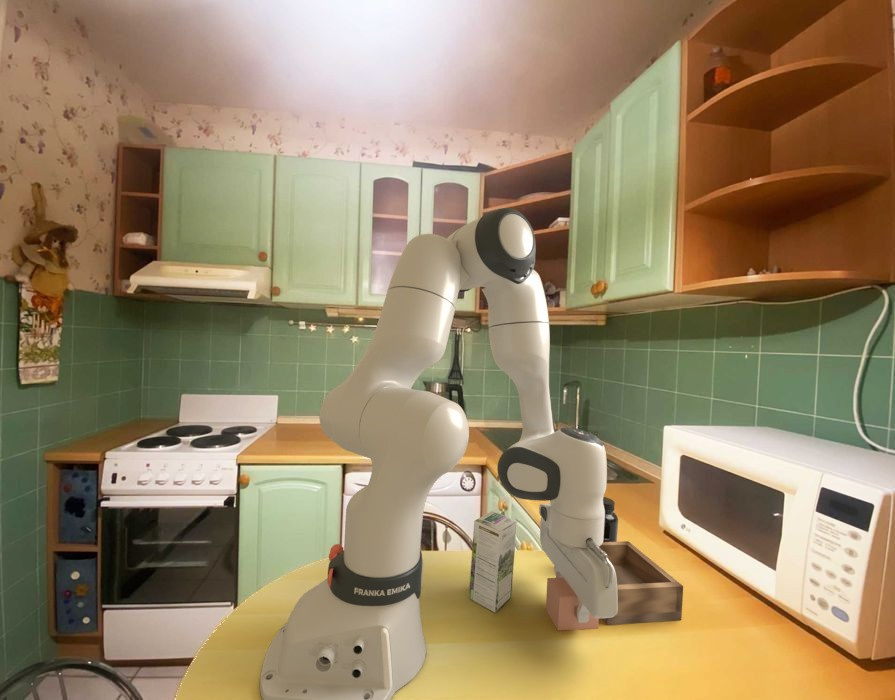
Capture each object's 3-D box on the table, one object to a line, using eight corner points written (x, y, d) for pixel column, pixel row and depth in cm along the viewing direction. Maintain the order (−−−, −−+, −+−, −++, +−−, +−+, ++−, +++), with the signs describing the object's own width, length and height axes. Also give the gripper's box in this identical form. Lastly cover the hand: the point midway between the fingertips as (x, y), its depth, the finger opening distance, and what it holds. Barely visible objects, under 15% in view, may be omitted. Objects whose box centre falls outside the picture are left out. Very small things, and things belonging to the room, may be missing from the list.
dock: (607, 625, 63) (609, 590, 63) (565, 571, 77) (567, 543, 77) (681, 619, 65) (683, 586, 65) (626, 568, 80) (628, 541, 80)
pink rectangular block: (558, 630, 61) (559, 596, 61) (545, 609, 66) (547, 578, 66) (598, 628, 62) (599, 595, 62) (582, 607, 67) (584, 576, 67)
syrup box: (485, 584, 72) (489, 509, 72) (512, 598, 68) (517, 519, 68) (468, 598, 67) (472, 518, 67) (496, 614, 64) (500, 530, 64)
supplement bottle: (596, 561, 82) (599, 506, 82) (578, 545, 89) (580, 494, 88) (623, 558, 84) (625, 504, 84) (602, 542, 90) (605, 493, 90)
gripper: (631, 559, 54) (626, 654, 54) (565, 500, 74) (561, 570, 74) (591, 560, 53) (586, 657, 53) (535, 501, 73) (531, 571, 73)
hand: (571, 605), depth 64 cm, fingers closed on pink rectangular block, 5 cm apart
